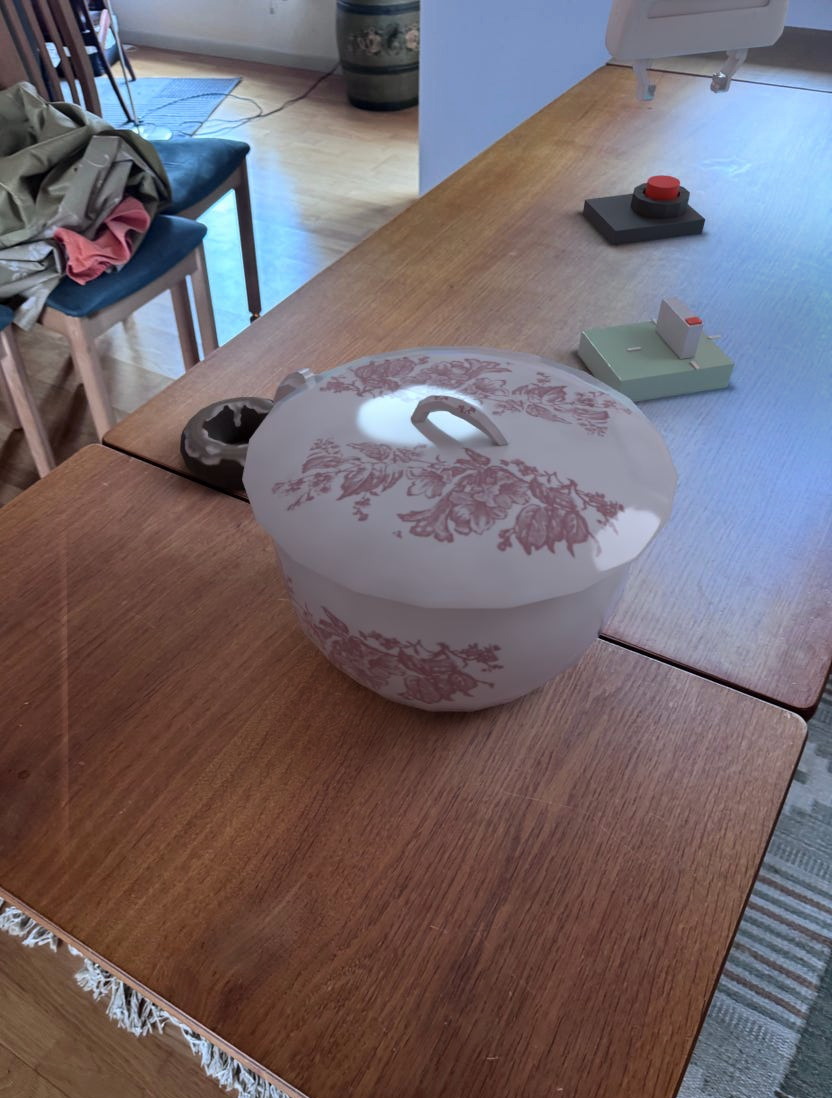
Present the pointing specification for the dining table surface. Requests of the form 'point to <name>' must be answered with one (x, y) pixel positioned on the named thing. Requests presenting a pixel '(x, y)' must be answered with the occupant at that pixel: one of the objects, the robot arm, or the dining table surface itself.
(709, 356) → the tap panel
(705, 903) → the dining table surface
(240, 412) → the donut
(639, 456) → the chamber pot
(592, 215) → the button block
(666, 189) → the red button
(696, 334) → the grey rectangular block
